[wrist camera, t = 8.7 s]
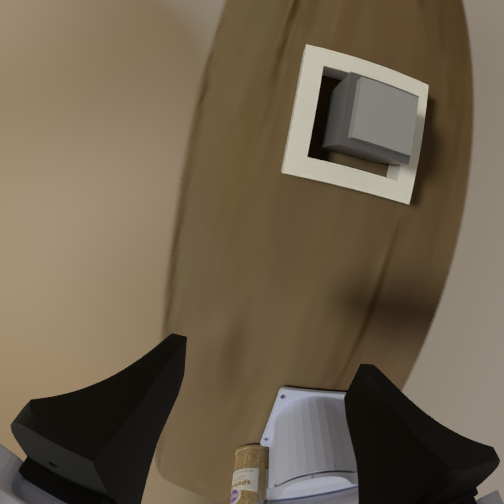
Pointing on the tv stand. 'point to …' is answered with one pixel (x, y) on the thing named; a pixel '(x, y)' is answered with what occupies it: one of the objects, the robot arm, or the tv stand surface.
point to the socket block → (303, 116)
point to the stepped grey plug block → (370, 120)
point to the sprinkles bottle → (250, 474)
